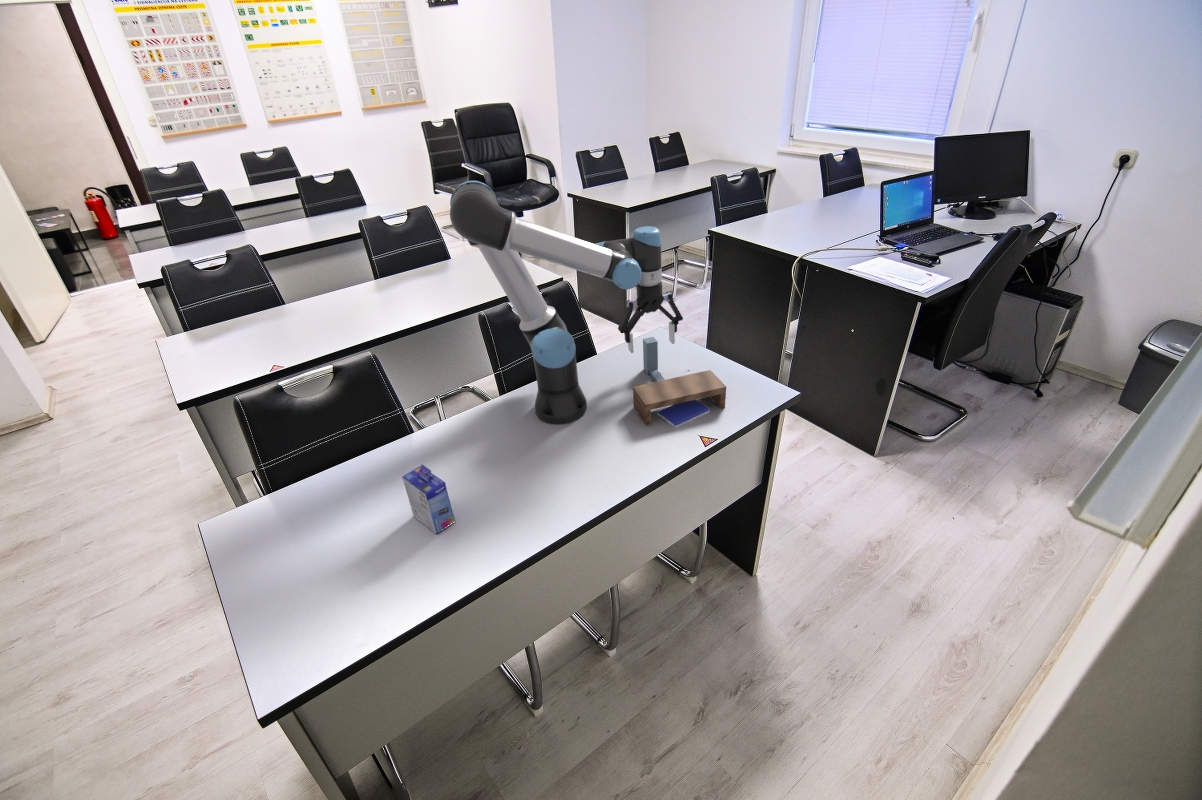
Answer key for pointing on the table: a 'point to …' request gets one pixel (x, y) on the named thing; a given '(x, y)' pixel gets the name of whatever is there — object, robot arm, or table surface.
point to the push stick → (651, 358)
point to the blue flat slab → (683, 412)
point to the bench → (677, 392)
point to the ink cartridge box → (428, 498)
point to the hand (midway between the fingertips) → (651, 346)
